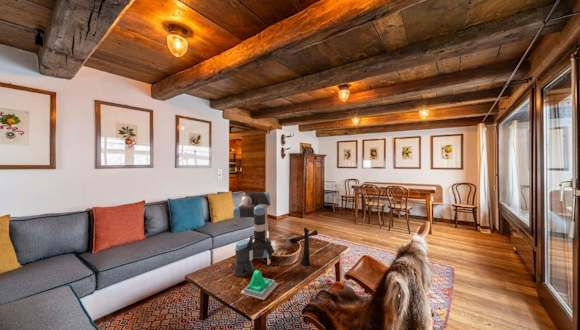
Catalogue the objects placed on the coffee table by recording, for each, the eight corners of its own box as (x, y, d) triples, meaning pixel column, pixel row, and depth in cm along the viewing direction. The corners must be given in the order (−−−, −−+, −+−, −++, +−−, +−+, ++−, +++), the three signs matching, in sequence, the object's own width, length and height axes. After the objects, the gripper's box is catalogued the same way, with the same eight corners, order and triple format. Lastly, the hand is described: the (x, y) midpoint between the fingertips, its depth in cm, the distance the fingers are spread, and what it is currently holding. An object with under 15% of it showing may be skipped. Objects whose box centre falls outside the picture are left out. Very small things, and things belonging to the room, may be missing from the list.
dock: (240, 293, 144) (240, 288, 144) (256, 279, 161) (256, 275, 161) (263, 300, 138) (263, 295, 137) (277, 284, 154) (277, 280, 154)
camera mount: (257, 293, 142) (257, 277, 142) (249, 289, 147) (249, 274, 147) (270, 285, 152) (270, 269, 152) (261, 281, 157) (261, 266, 156)
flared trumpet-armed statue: (295, 272, 171) (295, 233, 171) (286, 268, 178) (286, 230, 177) (320, 259, 193) (320, 224, 193) (312, 256, 200) (312, 222, 200)
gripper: (240, 229, 150) (240, 260, 151) (273, 234, 140) (273, 268, 141) (247, 226, 157) (247, 256, 158) (279, 230, 147) (279, 263, 148)
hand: (259, 261), depth 149 cm, fingers open, 13 cm apart
